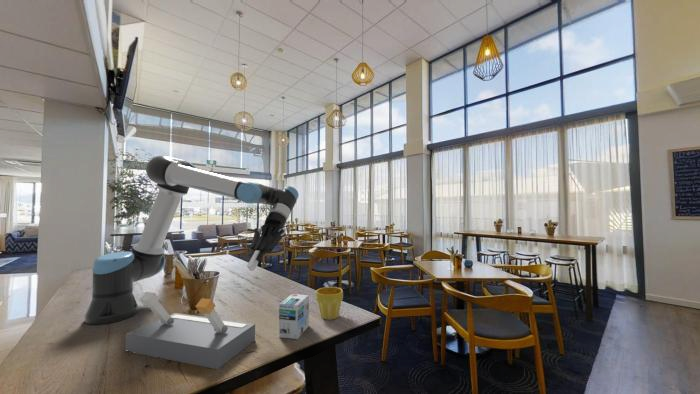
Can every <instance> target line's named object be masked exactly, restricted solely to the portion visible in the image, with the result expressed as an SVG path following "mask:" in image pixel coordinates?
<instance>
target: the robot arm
mask: <svg viewBox="0 0 700 394" xmlns="http://www.w3.org/2000/svg"><path fill="white" fill-rule="evenodd" d="M145 173H146V176H147V177H148V178H149V180H151V181H152V182H153V183H155V184H156V187H157V188H158V193H157V195H156V197H155V200H154V203H153V206H152V207H151V210H150V213H149V215H148V218H147V220H146V223H145V225H144V228H143V231H142V233H141V236H140V239H139V241H138V242H136V243H135V244H133V245H132V247H131V249H130V251H116V252H111V253H107V254H103V255H100V256H99V257H96V258H95V260H94V262H93V267H92V295H91V301H90V304H89V306H88V307H87V311H86V313H85V315H84V323H85V322H86V323H85V324H86V325H87V324H88V325H105V324H111V323H116V322H119V321H123V320H126V319H129V318H131V317H133V316H135V315H136V314H138V311H139V310H138V309H139V307H138V303H137V300H136V298H135V295H134V293H133V292H134V291H133V289H134V283H136V282H139V281H141V280H144V279H148V278H151V277H154V276H155V275H158V274H160V273H161V272H162V270H164V267H165V266H166V260H167V259H166V257H165V255H166V254H165V249H164V248H163V245H164V243H165V240H166V237H167V235H168V232H169V230H170V228H171V225H172V223H173V220H174V218H175V214H176V212H177V210H178V207H179V205H180V202H181V199H182V197H183V196H185V195H188V192H189V190H190V189H193V190H199V191H202V192H206V193H209V194H210V193H211V194H214V195H218V196H222V197H225V198H230V199H233V200H237V201H241V202H243V203H245V204H251V205H252V204H264V205H268V206H272V208H271V209H270V211H269V213H268V215H266V218H265V220H264V224H263V225H262V226H261V227H260V228H257V227H255V228H254V234H253V236H252V240H251V242H250V243H251V244H250V246H249V248H250V250H251V251H252V253H251V255H250V256H249V259H250V260H249V261H248V263H247V264H246V267H247V269H249V271H252V272H254V271H255V270H256V268H257V266H258V264H259V263H260V262H261V261H262V260H263V258H264V255H266V254H271V253H272V252H273V250H274V249H275V248H276V246H277V245H278V244H279V242H280V241H281V240H282V239H283V238H284V237H285V236H287V233H286V231H285V229H284V227H285V225H286V223H287V222H288V221H287V220H288V219H289V218H290V215H291V213H292V211H293V209H294V207H295V204H297V201H298V198H299V195H300V194H299V191H298V190H297V189H296V188H295V187H293V186H290V185H288V186H284V187H283V188H282V189H279V188H274V187H270V186H267V185H264V184H261V183H255V182H254V183H253V182H250V181H246V180H242V179H238V178H234V177H230V176H226V175H222V174H217V173H214V172H210V171H206V170H202V169H198V168H197V167H196V166H195V165H194V164H193V163H192V162H189V161H187V160H184V159H180V158H175V157H171V156H168V155H166V156H165V155H157V156H155V157H153V158H151V159H150V160H149V161H148V162H147V164H146V168H145Z"/></svg>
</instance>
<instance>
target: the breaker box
mask: <svg viewBox="0 0 700 394" xmlns="http://www.w3.org/2000/svg"><path fill="white" fill-rule="evenodd" d="M169 315H170V316H171V318H173V319H174V322H173V323H172V324H164V323H161V320H160V319H159V318H158V319H157V320H155V321H152V322H150V323H148V324H145V325H143V326H140V327H138V328H136V329H133V330H131V331H128V332H126V333H125V350H128V351H132V352H135V353H134V354H137V353H138V354H139V355H141V356H142V355H144V356H148V357H153V356H156V357H155V358H158V357H160V358H159V359H163V358H164V359H163V360H168V361H174V362H180V363H184V364H188V365H195V366H199V367H203V368H207V369H209V368H210V369H214V370H218V369H221V367H222V366H224V365H225V364H226V363H228V362H229V361H230V360H231V359H233V358H234V357H235V356H236V355H238V354H239V353H241V352H242V351H243V350H245V348H247V347H249V345H251V344H252V343H254V342H255V341H256V323H252V322H251V323H250V322H245V321H244V322H243V321H236V320H230V319H223V318H221V320H222V321H223V323H224V324H225V326H227V327H228V329H227V331H226V332H225V333H223V332H216V331H214V327H213V326H212V324H211V323H210V322H209V320H208V319H207V317H206V316H200V315H192V314H186V313H185V314H184V313H178V312H173V313H172V314H169ZM132 352H131V353H132Z"/></svg>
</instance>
